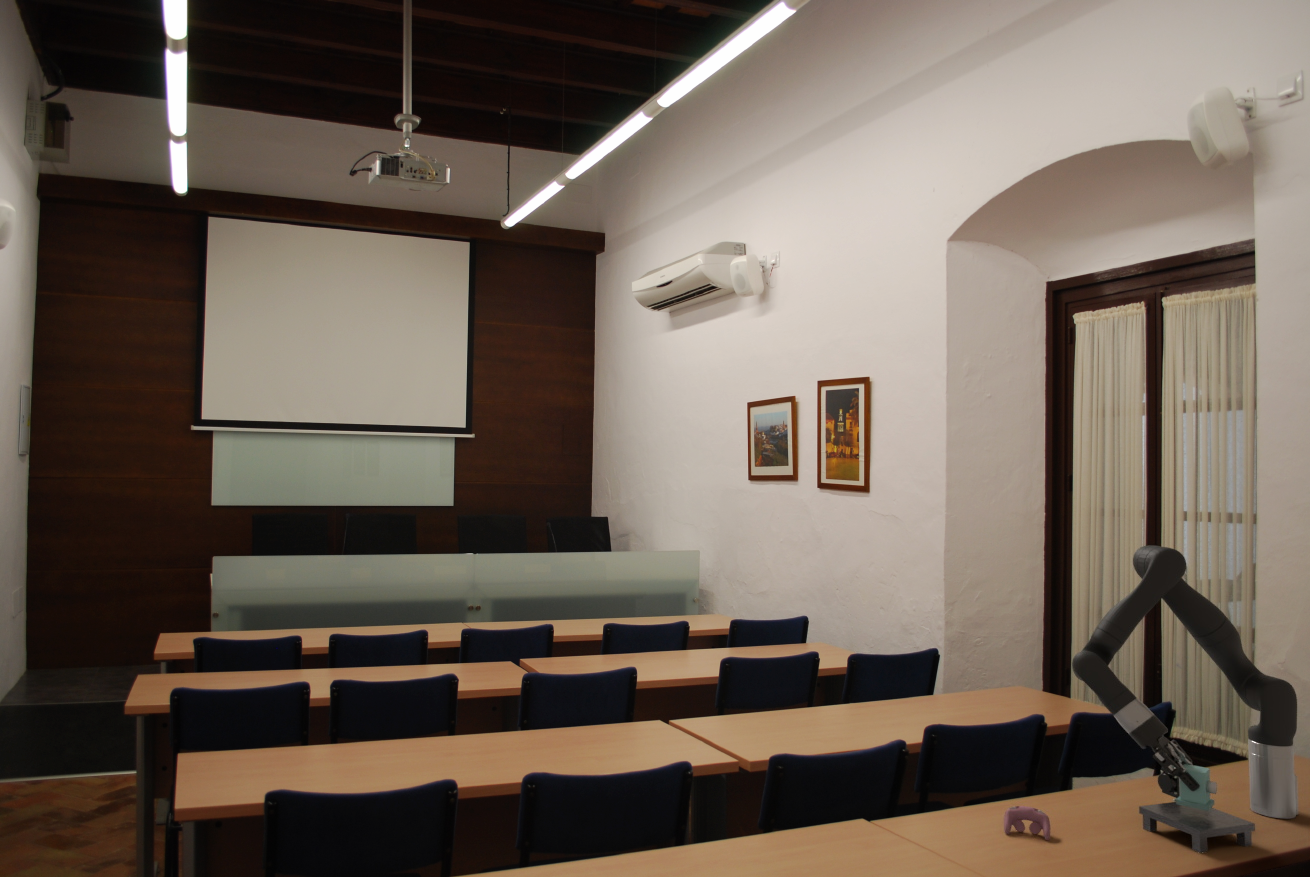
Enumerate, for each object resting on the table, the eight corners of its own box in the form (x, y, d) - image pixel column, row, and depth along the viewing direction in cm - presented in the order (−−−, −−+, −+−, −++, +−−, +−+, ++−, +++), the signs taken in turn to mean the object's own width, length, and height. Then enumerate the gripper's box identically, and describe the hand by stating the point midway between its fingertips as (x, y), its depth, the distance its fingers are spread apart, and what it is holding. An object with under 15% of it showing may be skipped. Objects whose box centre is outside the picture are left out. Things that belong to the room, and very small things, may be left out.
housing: (1182, 797, 206) (1182, 762, 207) (1219, 805, 201) (1218, 769, 202) (1176, 803, 202) (1175, 768, 202) (1213, 812, 197) (1212, 775, 197)
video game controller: (1050, 843, 200) (1050, 810, 204) (1050, 840, 197) (1050, 807, 200) (1004, 836, 204) (1004, 804, 208) (1003, 833, 201) (1003, 800, 204)
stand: (1191, 821, 211) (1191, 799, 211) (1255, 846, 196) (1254, 823, 196) (1139, 828, 206) (1139, 806, 207) (1200, 854, 191) (1200, 830, 191)
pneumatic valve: (1212, 814, 216) (1210, 764, 216) (1173, 819, 212) (1172, 768, 213) (1192, 807, 221) (1191, 758, 222) (1154, 811, 218) (1153, 761, 219)
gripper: (1144, 718, 203) (1206, 784, 195) (1160, 708, 214) (1219, 770, 205) (1119, 737, 207) (1179, 802, 198) (1136, 726, 217) (1193, 788, 208)
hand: (1199, 786), depth 202 cm, fingers closed on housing, 5 cm apart
